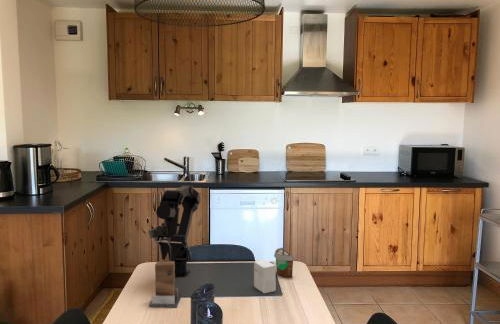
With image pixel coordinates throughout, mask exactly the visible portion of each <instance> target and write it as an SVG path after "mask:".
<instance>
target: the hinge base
mask: <svg viewBox="0 0 500 324" xmlns="http://www.w3.org/2000/svg"><path fill="white" fill-rule="evenodd" d="M181 298H182V295H179V288H177V287H175V295H156V294H152V295H151V301H150V302H149V304H148V308H168V309H169V308H170V309H172V308H174V309H175V308H176V309H177V308H178V306H179V303H180V301H181Z"/></svg>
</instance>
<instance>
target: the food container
mask: <svg viewBox="0 0 500 324" xmlns="http://www.w3.org/2000/svg"><path fill="white" fill-rule="evenodd" d="M273 256H274V258H275V265H276V275H277V276H279V277H280V278H293V269H294V267H293V266H294V260H295V257H294V255H291V254H290V253H289V252H288V251H286V250H285V249H284V247H279V248H277V249H276V250H275V251H274V254H273Z"/></svg>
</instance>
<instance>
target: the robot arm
mask: <svg viewBox="0 0 500 324" xmlns="http://www.w3.org/2000/svg"><path fill="white" fill-rule="evenodd" d="M200 204H201V196H200V193H199V192H198V191H197V190H196V188H194V186H193V185H189V184H188V185H187V184H183V185H180V187H178V188H176V189H166V190H165V192H164V193H163V195H162V197H161V200H160V202H159V205H158V207H157V209H156V211H155V212H156V213H155V214H156V216H157V217H158V218H159V219H162V220H163V222H162V223H161V224H160V225H158V226H155V228H152V229H148V235H149V239H154V242H155V244H157V245H158V246H159V249H160V250H159V251H160V256H161V260H163V261H165V260H166V258H167V256H168V259H169V261H168V262H175V276H180V277H186V275H187V274H189V273H190V272H191V270H190V269H188V262H189V261H192V252H191V250H190V246H189V243H188V241H187V240H188V237H189V232H190V228H191V224H192V219H193V214H194V213H195V212H196V211H197V210H198V209H199V205H200ZM180 206H182V213H181V214H182V215H181V217H180V210H181V208H180ZM179 217H180V219H179ZM179 220H180V222H179Z"/></svg>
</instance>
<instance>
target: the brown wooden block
mask: <svg viewBox="0 0 500 324" xmlns="http://www.w3.org/2000/svg"><path fill="white" fill-rule="evenodd" d="M154 273H155V274H154V277H155V278H154V280H155V281H154V283H155V284H154V285H155V295H175V288H176V275H175V262H174V261H156V262H155V264H154Z"/></svg>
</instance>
